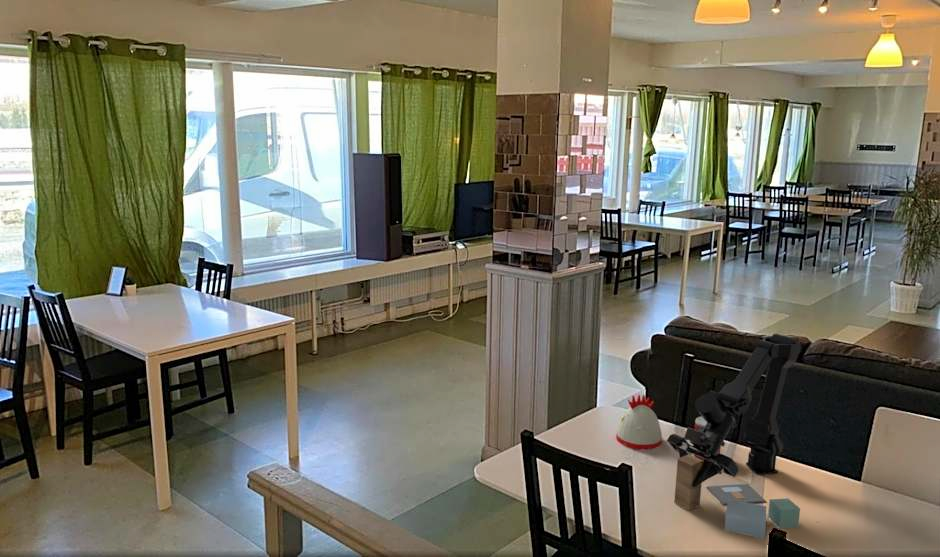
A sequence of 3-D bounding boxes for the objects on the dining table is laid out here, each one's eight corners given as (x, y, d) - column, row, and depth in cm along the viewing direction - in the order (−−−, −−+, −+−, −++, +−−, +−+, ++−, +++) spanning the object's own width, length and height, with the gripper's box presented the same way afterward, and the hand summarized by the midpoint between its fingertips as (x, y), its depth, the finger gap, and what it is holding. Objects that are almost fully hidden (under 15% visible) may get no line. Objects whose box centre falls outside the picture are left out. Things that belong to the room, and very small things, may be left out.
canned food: (721, 452, 212) (724, 418, 209) (718, 463, 205) (721, 428, 202) (694, 447, 215) (697, 414, 213) (690, 458, 208) (693, 423, 206)
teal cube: (786, 516, 177) (788, 498, 176) (797, 527, 172) (800, 508, 171) (767, 517, 176) (769, 499, 175) (779, 528, 171) (781, 509, 170)
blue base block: (726, 513, 179) (727, 498, 178) (764, 520, 175) (766, 506, 174) (724, 531, 171) (725, 516, 170) (764, 539, 167) (765, 524, 166)
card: (747, 485, 192) (747, 483, 192) (765, 502, 183) (765, 500, 183) (706, 487, 191) (706, 486, 190) (722, 504, 182) (722, 503, 182)
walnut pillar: (685, 498, 185) (688, 454, 183) (699, 505, 182) (703, 460, 179) (674, 503, 183) (677, 458, 180) (688, 510, 179) (692, 465, 176)
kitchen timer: (610, 431, 226) (613, 387, 223) (651, 430, 228) (654, 386, 225) (624, 450, 213) (627, 404, 210) (668, 448, 214) (671, 402, 211)
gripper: (673, 404, 187) (643, 453, 183) (735, 428, 172) (704, 482, 168) (690, 425, 193) (661, 473, 189) (751, 450, 178) (721, 503, 174)
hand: (685, 482), depth 180 cm, fingers closed on walnut pillar, 4 cm apart
